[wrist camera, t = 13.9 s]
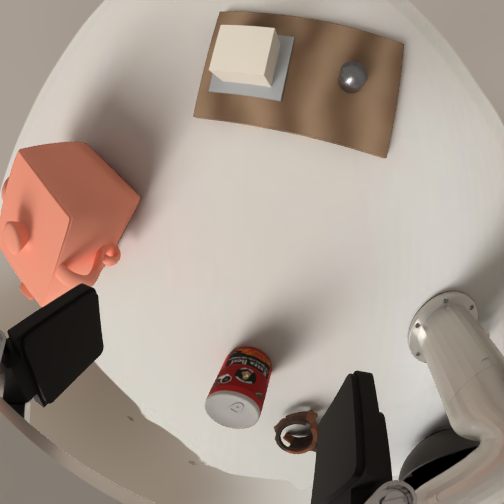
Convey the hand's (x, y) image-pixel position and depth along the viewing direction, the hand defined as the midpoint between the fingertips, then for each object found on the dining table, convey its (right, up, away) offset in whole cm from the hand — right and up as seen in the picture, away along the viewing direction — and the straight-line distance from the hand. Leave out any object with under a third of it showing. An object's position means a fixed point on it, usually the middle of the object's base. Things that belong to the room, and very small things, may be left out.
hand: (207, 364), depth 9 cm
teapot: (-26, +8, +34) cm, 44 cm away
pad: (+1, +27, +20) cm, 33 cm away
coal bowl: (+43, -38, +33) cm, 66 cm away
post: (+13, +24, +18) cm, 33 cm away
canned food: (+1, -14, +35) cm, 38 cm away
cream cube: (+1, +26, +19) cm, 33 cm away
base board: (+8, +26, +20) cm, 34 cm away
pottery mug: (+12, -29, +38) cm, 49 cm away
